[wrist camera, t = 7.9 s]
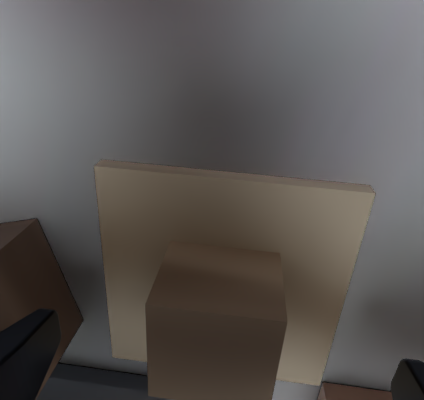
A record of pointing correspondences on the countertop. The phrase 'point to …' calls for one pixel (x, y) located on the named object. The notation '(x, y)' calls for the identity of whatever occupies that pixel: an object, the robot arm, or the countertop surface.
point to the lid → (225, 275)
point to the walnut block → (34, 282)
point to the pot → (351, 393)
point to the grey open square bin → (94, 385)
